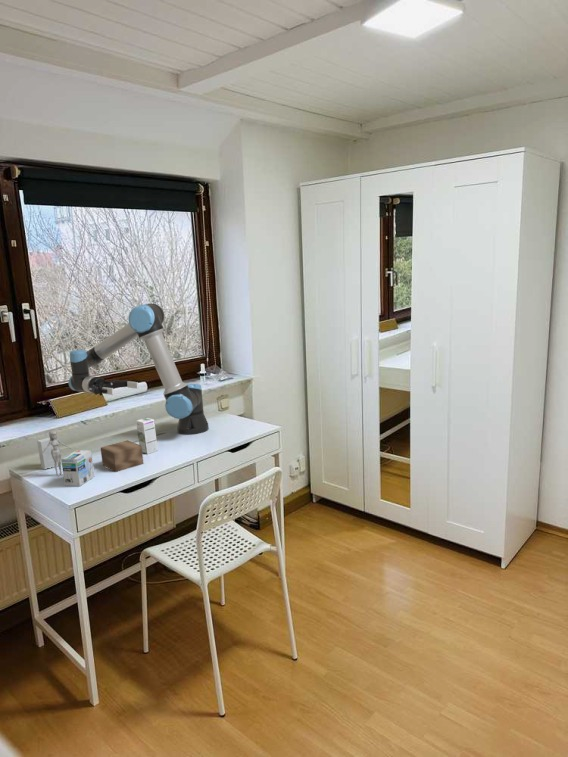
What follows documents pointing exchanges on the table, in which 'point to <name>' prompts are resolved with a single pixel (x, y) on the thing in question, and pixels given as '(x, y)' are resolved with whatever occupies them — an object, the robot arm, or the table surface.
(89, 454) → the light bulb box
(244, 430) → the table surface
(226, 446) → the table surface
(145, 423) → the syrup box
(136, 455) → the walnut block
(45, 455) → the skincare box
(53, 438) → the human figurine
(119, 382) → the robot arm
